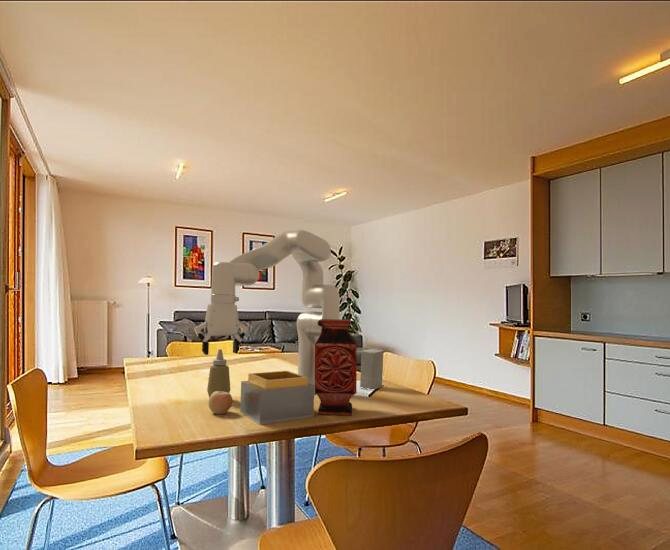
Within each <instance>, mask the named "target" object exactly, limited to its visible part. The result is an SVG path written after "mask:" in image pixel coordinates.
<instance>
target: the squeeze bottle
mask: <svg viewBox="0 0 670 550" xmlns="http://www.w3.org/2000/svg"><path fill="white" fill-rule="evenodd" d="M227 362H228V361H227V359H225V358H224V354H223V349H220V348H219V349H218V351H217V354H216V358H215V359H213V361H212V365H211V366H210V367H209V373H208V382H207V389H206V391H207V394H208V398H210V396H211V394H212V393H214V392H215V391H220V390H221V391H223V392H228V393H229V394H231V393H230V392H231V380H230V379H231V378H230V377H231V376H230V367H229V366H228V365H227ZM219 388H220V390H219Z"/></svg>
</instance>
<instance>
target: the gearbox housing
mask: <svg viewBox="0 0 670 550" xmlns="http://www.w3.org/2000/svg"><path fill="white" fill-rule="evenodd" d="M247 377H248V380H241V382H240V403H239V404H240V409H239V410H240V413H241V414H242V415H244V416H246V417H248V418H249V419H250V420H252V421H253V422H254V423H257V424H259V425H266V424H267V425H268V424H272V423H273V424H274V423H279V422H286V421H287V422H288V421H294V420H295V421H296V420H301V419H302V420H303V419H308V418H314V416H315V415H314V414H315V413H314V411H315V410H314V407H315V393H314V385H312V384H309V383H307V377H305V376H302V375H299V374H298V373H295V372H292V371H290V370H279V371H265V372H254V373H253V372H252V373H251V372H250V373H248V376H247Z"/></svg>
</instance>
